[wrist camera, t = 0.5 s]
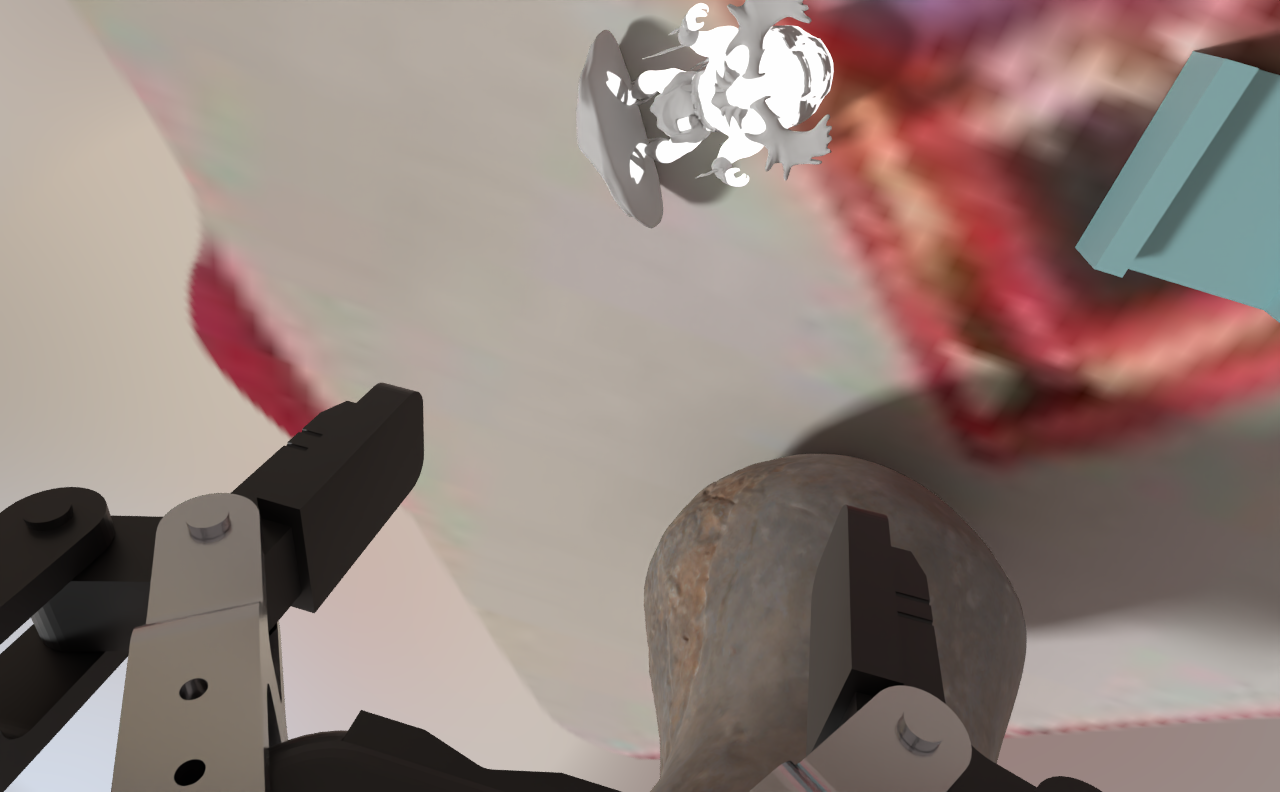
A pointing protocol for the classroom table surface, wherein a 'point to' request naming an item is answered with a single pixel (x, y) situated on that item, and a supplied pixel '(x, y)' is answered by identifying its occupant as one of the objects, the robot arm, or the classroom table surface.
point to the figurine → (706, 102)
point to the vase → (804, 615)
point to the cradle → (1201, 189)
